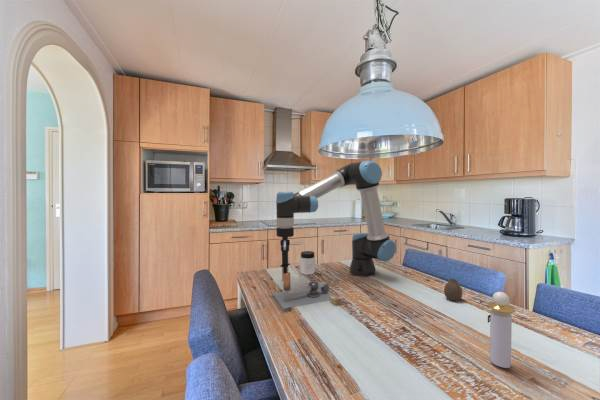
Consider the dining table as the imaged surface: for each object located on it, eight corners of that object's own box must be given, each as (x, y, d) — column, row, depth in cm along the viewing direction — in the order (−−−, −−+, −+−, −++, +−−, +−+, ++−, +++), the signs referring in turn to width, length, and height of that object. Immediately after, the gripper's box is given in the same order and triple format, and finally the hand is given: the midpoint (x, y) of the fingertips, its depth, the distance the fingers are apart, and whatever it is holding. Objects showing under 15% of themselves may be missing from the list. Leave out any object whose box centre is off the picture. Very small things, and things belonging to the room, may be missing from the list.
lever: (324, 288, 122) (324, 265, 122) (329, 291, 118) (329, 267, 118) (281, 297, 112) (281, 272, 112) (286, 301, 108) (285, 275, 108)
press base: (322, 288, 128) (322, 279, 128) (339, 302, 112) (339, 292, 112) (272, 296, 119) (272, 286, 119) (283, 312, 103) (283, 300, 103)
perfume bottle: (519, 372, 68) (520, 296, 67) (497, 372, 68) (497, 296, 67) (503, 358, 73) (504, 288, 73) (482, 358, 74) (483, 288, 73)
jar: (301, 275, 150) (301, 254, 150) (299, 271, 158) (299, 251, 158) (316, 274, 151) (316, 253, 151) (313, 270, 159) (313, 250, 159)
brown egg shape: (466, 302, 110) (466, 282, 110) (449, 303, 110) (449, 282, 110) (456, 296, 117) (456, 277, 117) (440, 296, 117) (440, 277, 117)
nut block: (337, 294, 110) (342, 298, 107) (337, 304, 111) (343, 307, 107) (329, 296, 109) (334, 299, 105) (329, 305, 109) (334, 309, 105)
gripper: (277, 225, 120) (277, 276, 120) (275, 229, 107) (275, 286, 107) (293, 225, 120) (293, 276, 121) (293, 229, 107) (293, 286, 108)
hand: (285, 280), depth 114 cm, fingers closed
